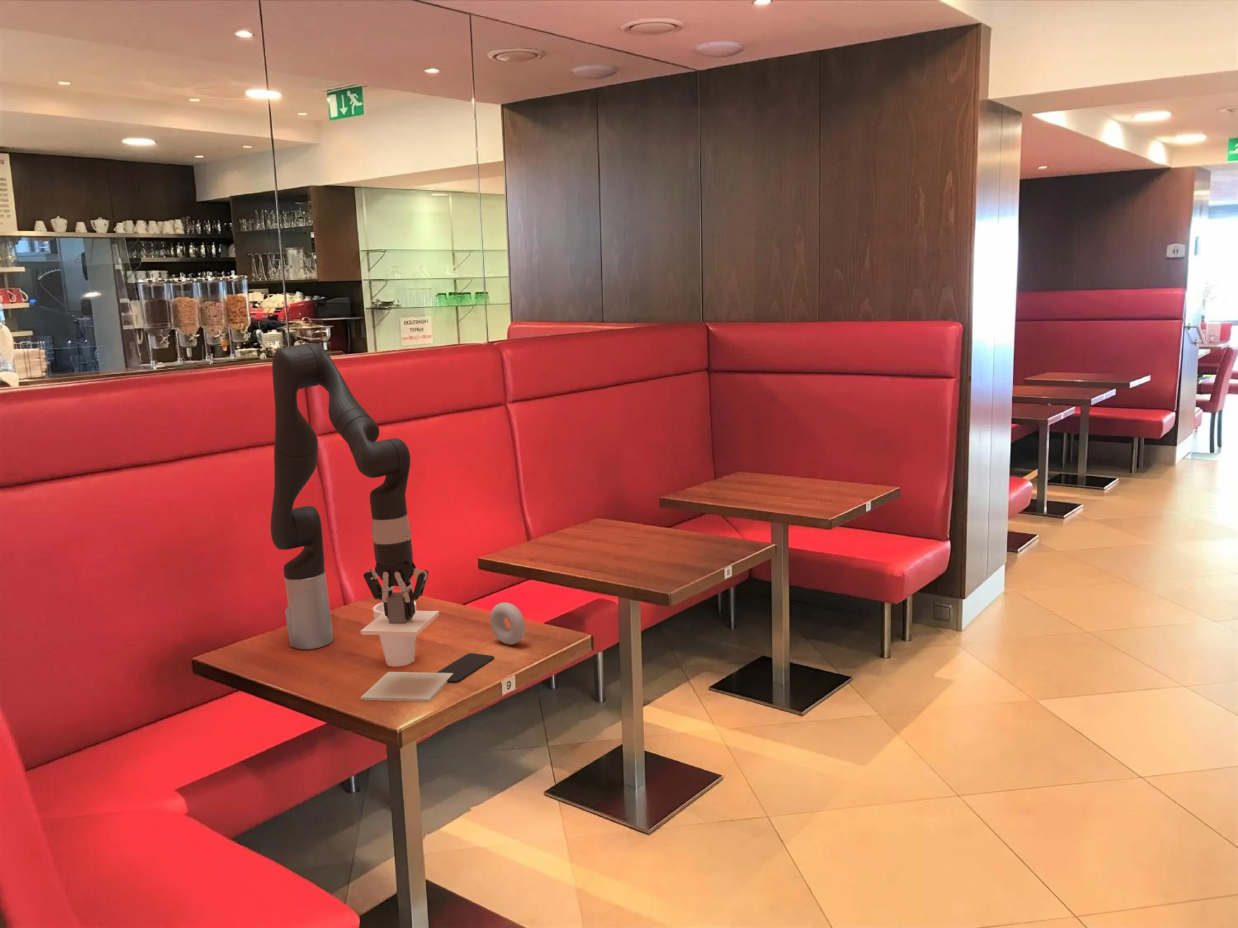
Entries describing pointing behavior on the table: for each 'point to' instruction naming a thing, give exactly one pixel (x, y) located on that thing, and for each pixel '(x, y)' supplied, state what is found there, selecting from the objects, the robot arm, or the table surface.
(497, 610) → the donut
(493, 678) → the table surface
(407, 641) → the foam cup
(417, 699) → the mat
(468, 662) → the phone
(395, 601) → the lid
